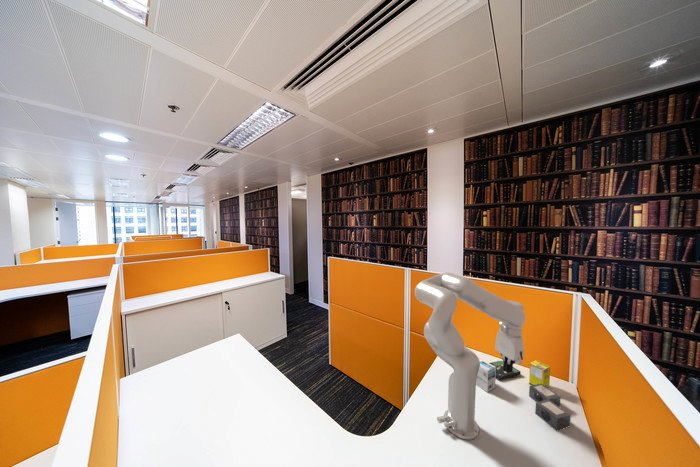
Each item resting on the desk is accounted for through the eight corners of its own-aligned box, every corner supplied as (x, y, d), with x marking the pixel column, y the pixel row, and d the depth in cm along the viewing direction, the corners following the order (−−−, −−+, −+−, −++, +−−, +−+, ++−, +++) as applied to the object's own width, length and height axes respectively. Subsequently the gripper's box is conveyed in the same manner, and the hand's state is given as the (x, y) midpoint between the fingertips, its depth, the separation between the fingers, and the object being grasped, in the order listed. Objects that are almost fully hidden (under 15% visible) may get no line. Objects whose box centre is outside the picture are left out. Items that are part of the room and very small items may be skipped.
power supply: (547, 410, 97) (547, 398, 96) (528, 396, 105) (529, 385, 104) (559, 407, 99) (560, 395, 98) (540, 393, 106) (541, 382, 106)
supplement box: (549, 387, 110) (550, 366, 109) (543, 392, 107) (544, 369, 107) (535, 380, 115) (536, 359, 115) (528, 383, 113) (529, 362, 112)
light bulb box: (495, 387, 110) (496, 366, 109) (487, 393, 107) (488, 371, 106) (474, 374, 119) (475, 355, 119) (466, 378, 116) (467, 358, 115)
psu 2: (556, 431, 87) (556, 418, 87) (534, 413, 95) (535, 402, 95) (569, 426, 89) (570, 414, 89) (547, 410, 97) (548, 398, 97)
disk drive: (498, 382, 115) (520, 376, 119) (499, 377, 114) (520, 371, 119) (481, 369, 124) (502, 364, 129) (481, 364, 124) (502, 359, 128)
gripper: (489, 323, 105) (486, 361, 105) (520, 339, 90) (517, 384, 91) (502, 322, 107) (499, 360, 107) (535, 338, 92) (531, 381, 93)
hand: (507, 370), depth 99 cm, fingers closed
